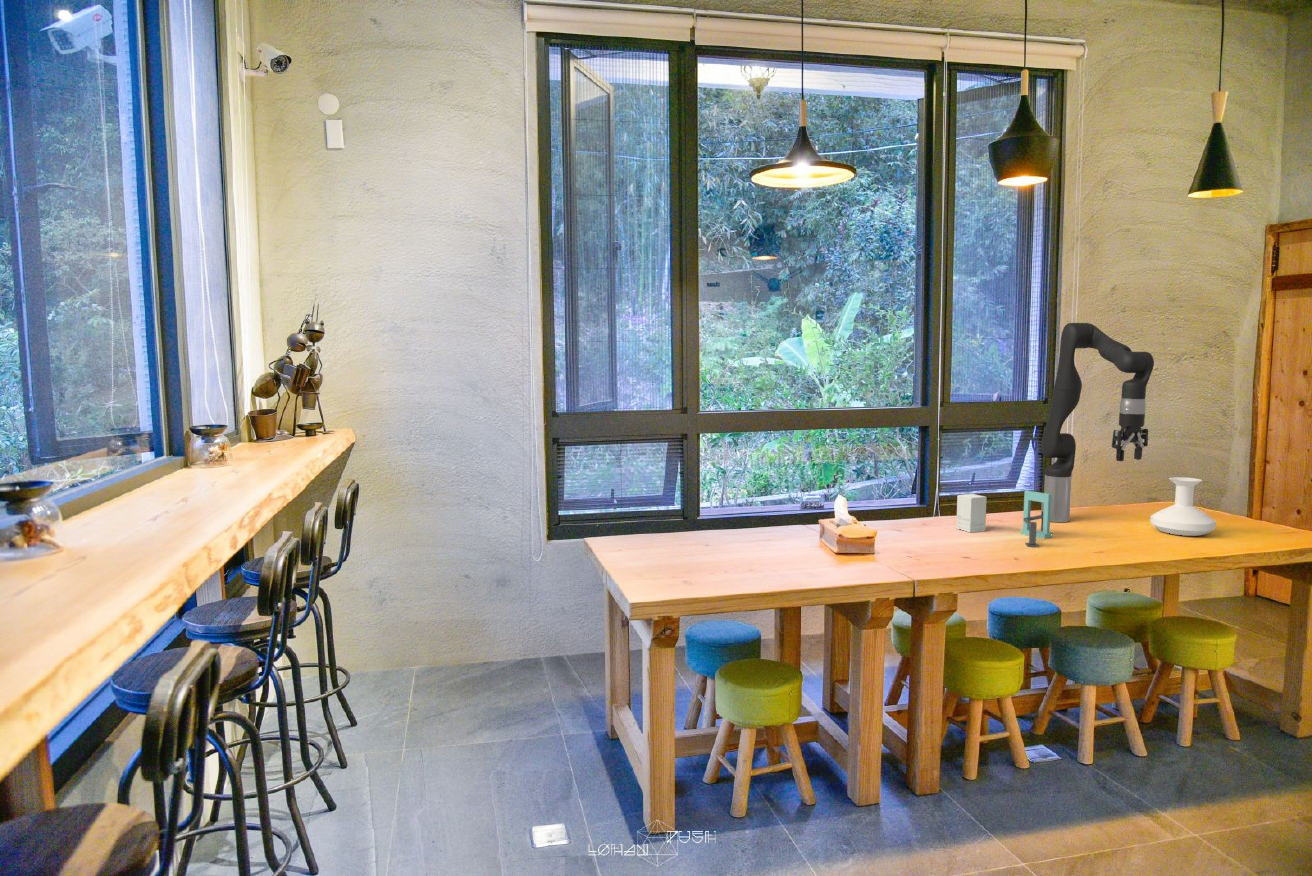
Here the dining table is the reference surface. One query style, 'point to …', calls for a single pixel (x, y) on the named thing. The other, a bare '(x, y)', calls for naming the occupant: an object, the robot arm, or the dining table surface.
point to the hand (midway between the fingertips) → (1128, 460)
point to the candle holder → (1183, 512)
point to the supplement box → (971, 513)
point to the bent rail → (1033, 529)
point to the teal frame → (1046, 500)
